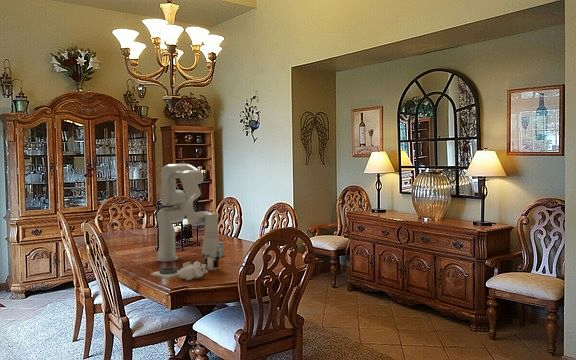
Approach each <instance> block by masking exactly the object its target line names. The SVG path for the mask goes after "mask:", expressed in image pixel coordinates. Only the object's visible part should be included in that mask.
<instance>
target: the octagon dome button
mask: <svg viewBox="0 0 576 360" xmlns="http://www.w3.org/2000/svg"><path fill="white" fill-rule="evenodd" d="M180 270H181V269H180ZM180 270H179V269H178V267H174V266H167V267H161V268H159V271H154V272H150V276H154V277H159V278H164V279H171V278H175V277H178V276H179V271H180Z"/></svg>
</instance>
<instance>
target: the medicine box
mask: <svg viewBox="0 0 576 360" xmlns="http://www.w3.org/2000/svg"><path fill="white" fill-rule="evenodd" d="M220 251H221V253H222V256H221V257H223V256H224V242H221V241H220Z"/></svg>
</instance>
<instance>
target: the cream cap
mask: <svg viewBox="0 0 576 360" xmlns="http://www.w3.org/2000/svg"><path fill="white" fill-rule="evenodd" d="M207 256H208V255H207ZM214 261H215V260H214V257H213V256H208V257H207V266H206V270H207V271H216V270H217V268H214Z"/></svg>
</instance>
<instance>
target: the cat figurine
mask: <svg viewBox="0 0 576 360" xmlns="http://www.w3.org/2000/svg"><path fill="white" fill-rule="evenodd" d="M182 266H183V267H182V268H180V271H179V275H178V276H179V277H180V278H181V279H184V280H186V281H187V282H188V281H191V280H193V279H199V278H201V277H203V276H204V274H208V273H209V270H207V265H206V264H202V263H201V262H199V261H194V262H193V261H186V262H184V263H183V264H182Z"/></svg>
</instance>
